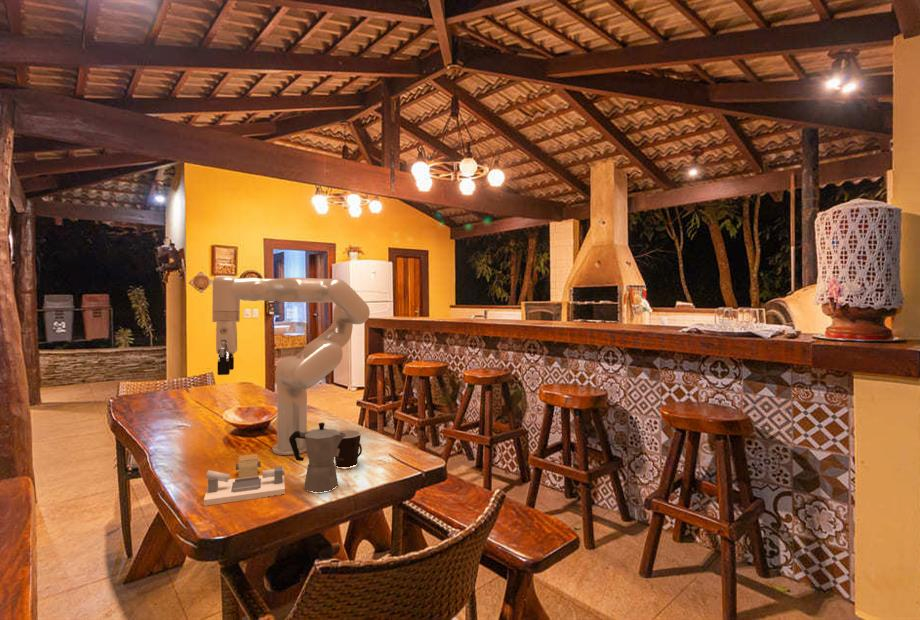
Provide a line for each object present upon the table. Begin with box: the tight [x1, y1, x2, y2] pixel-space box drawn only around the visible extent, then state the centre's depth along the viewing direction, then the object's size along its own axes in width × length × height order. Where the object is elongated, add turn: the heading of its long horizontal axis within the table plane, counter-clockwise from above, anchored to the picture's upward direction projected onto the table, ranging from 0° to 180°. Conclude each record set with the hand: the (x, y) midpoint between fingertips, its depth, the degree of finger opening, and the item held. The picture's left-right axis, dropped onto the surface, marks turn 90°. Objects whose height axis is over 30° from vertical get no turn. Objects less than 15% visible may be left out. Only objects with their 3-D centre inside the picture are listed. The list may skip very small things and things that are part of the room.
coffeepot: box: [289, 422, 346, 492], centre depth 127 cm, size 15×9×18 cm, turn 93°
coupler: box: [235, 453, 262, 478], centre depth 136 cm, size 7×4×5 cm
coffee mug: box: [334, 429, 363, 467], centre depth 142 cm, size 12×9×10 cm
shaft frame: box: [203, 465, 286, 507], centre depth 124 cm, size 19×12×7 cm, turn 113°
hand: (225, 372), depth 143 cm, fingers open, 9 cm apart
